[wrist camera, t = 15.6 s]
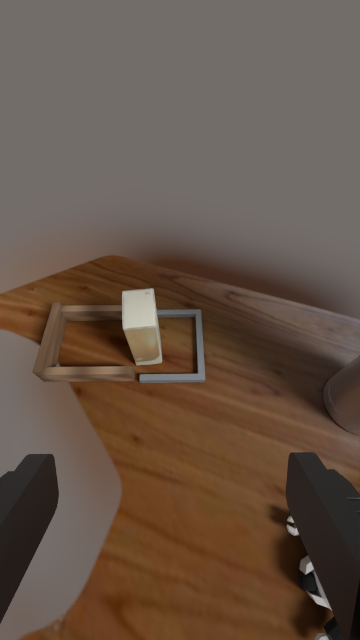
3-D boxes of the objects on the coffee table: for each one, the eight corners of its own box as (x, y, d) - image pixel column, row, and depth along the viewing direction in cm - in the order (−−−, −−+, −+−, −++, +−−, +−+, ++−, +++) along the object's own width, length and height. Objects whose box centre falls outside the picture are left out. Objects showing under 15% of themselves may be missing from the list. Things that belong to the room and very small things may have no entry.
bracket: (200, 312, 50) (201, 309, 49) (204, 382, 43) (205, 379, 42) (145, 313, 50) (144, 310, 49) (140, 382, 43) (139, 380, 42)
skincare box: (134, 333, 48) (121, 288, 37) (160, 330, 48) (153, 285, 38) (135, 367, 44) (121, 329, 34) (162, 365, 44) (156, 325, 34)
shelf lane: (139, 314, 50) (136, 301, 46) (134, 381, 43) (129, 371, 40) (61, 315, 50) (53, 302, 46) (44, 381, 43) (32, 372, 40)
